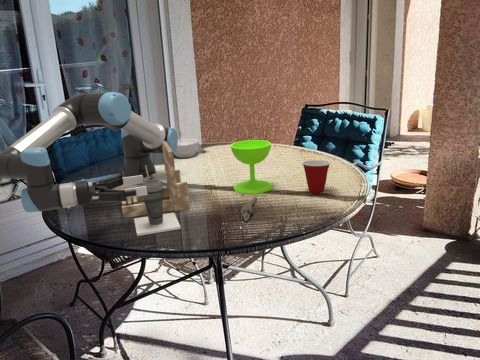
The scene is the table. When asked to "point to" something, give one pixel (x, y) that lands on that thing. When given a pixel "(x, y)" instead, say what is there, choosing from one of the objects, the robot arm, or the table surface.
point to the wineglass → (251, 164)
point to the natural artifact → (248, 209)
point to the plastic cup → (316, 175)
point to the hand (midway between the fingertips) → (144, 184)
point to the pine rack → (164, 190)
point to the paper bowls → (186, 148)
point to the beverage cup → (153, 200)
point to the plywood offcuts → (130, 201)
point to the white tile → (146, 228)
